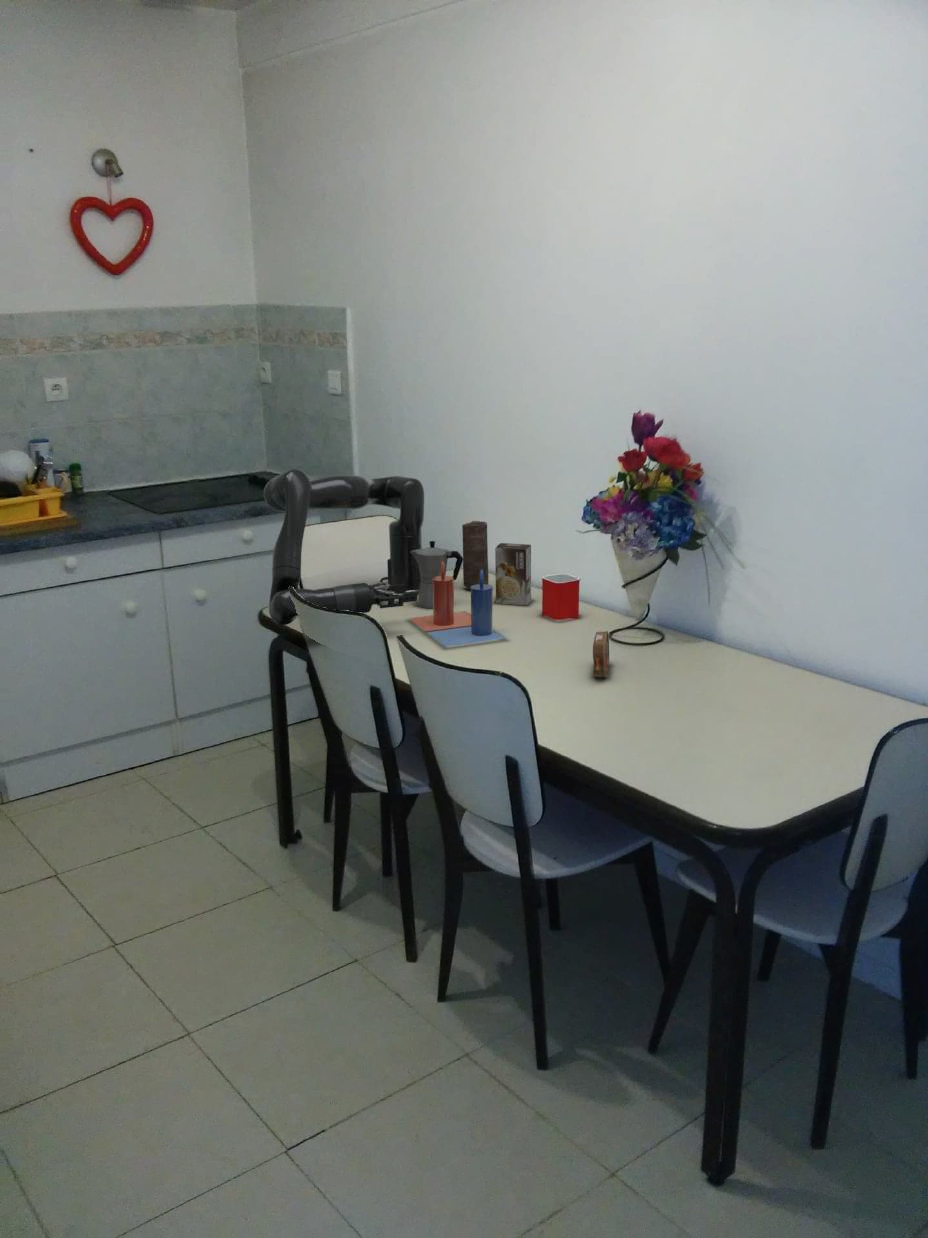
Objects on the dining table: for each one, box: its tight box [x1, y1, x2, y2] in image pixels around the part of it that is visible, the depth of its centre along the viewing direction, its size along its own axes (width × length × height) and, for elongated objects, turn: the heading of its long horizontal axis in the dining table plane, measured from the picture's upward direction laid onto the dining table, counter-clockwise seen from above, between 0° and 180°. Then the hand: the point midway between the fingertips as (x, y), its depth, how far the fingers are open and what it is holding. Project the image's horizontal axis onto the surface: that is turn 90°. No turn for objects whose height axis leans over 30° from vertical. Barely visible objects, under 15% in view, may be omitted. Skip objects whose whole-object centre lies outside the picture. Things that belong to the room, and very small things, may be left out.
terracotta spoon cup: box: [432, 561, 455, 626], centre depth 275 cm, size 5×5×16 cm
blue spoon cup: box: [470, 570, 494, 636], centre depth 267 cm, size 5×5×16 cm
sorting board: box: [408, 611, 506, 648], centre depth 273 cm, size 16×26×1 cm, turn 23°
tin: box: [592, 630, 610, 679], centre depth 242 cm, size 15×3×8 cm, turn 168°
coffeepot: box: [410, 540, 463, 610], centre depth 294 cm, size 15×9×18 cm, turn 70°
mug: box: [541, 572, 581, 621], centre depth 284 cm, size 12×8×11 cm
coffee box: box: [494, 542, 532, 606], centre depth 296 cm, size 9×6×16 cm
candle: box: [461, 520, 490, 590], centre depth 309 cm, size 8×7×20 cm
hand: (411, 592), depth 272 cm, fingers open, 8 cm apart
